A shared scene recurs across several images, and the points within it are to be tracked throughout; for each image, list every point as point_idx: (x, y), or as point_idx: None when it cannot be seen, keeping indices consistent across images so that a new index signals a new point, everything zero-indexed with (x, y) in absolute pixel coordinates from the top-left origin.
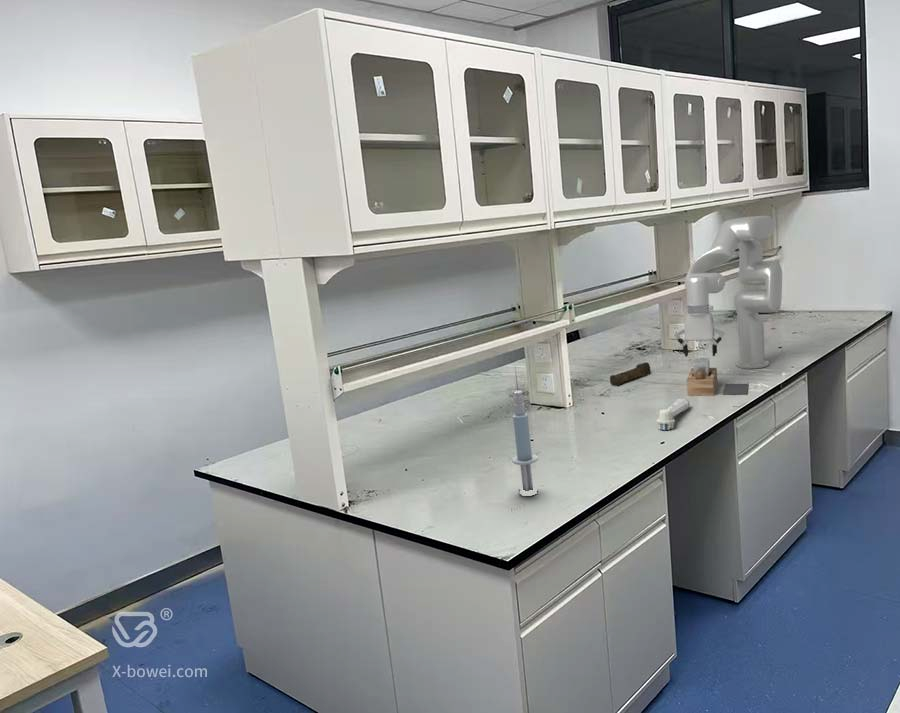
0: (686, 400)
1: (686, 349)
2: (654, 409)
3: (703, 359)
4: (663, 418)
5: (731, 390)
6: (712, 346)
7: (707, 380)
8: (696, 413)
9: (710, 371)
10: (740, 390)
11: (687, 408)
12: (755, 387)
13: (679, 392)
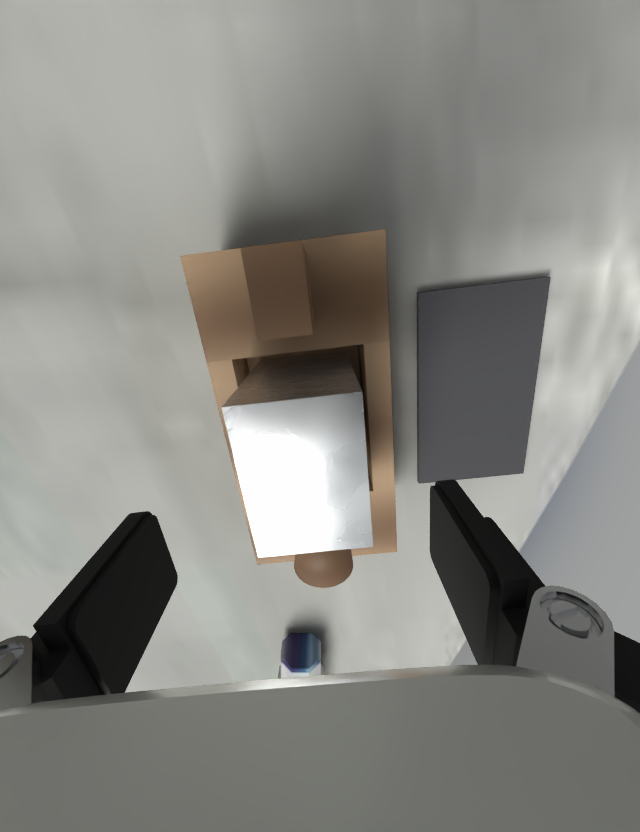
0: (314, 673)
1: (137, 656)
2: (210, 649)
3: (314, 441)
4: None
5: (456, 429)
6: (480, 661)
7: (367, 551)
8: (353, 666)
9: (350, 343)
10: (498, 426)
11: (322, 667)
12: (575, 339)
13: (215, 458)
